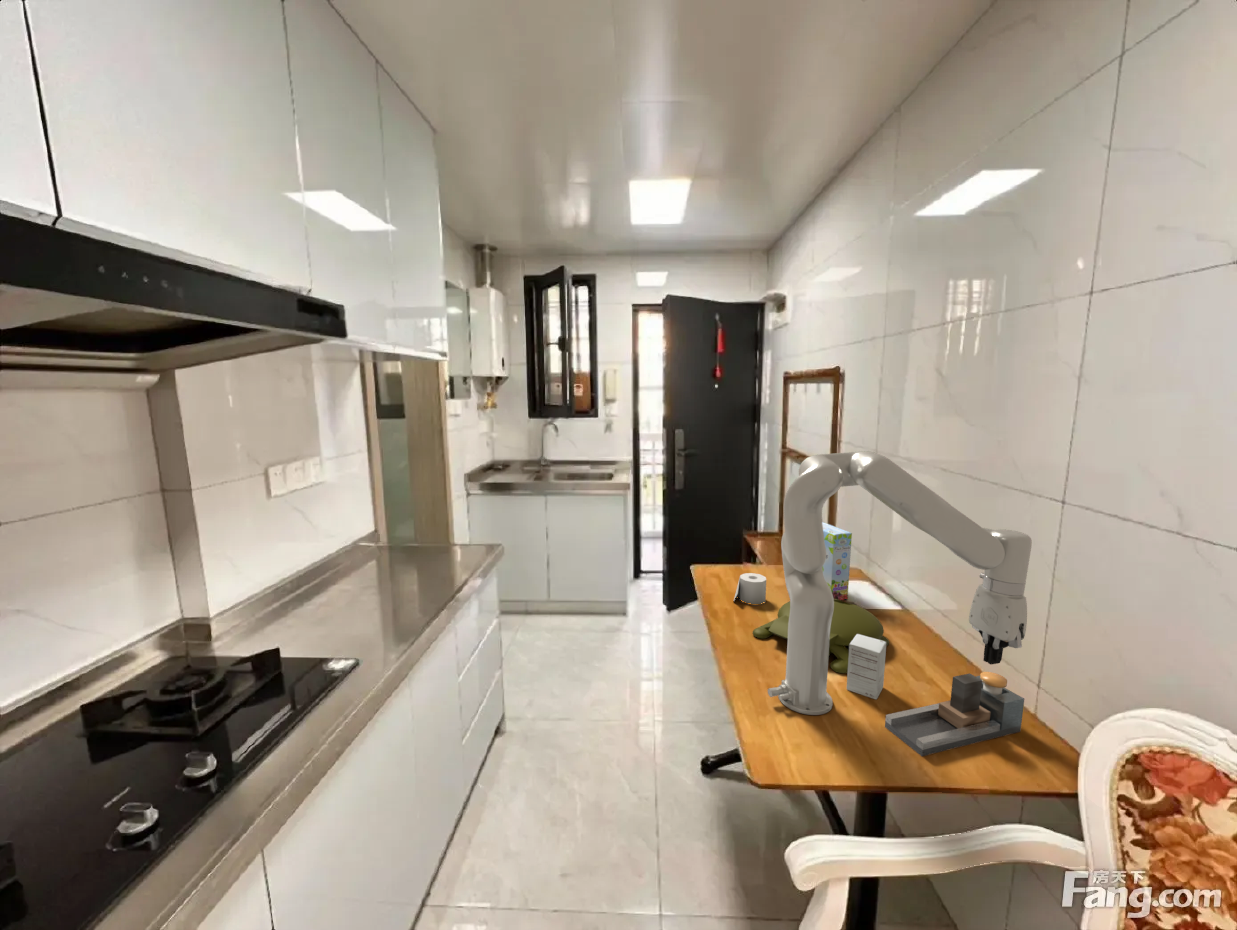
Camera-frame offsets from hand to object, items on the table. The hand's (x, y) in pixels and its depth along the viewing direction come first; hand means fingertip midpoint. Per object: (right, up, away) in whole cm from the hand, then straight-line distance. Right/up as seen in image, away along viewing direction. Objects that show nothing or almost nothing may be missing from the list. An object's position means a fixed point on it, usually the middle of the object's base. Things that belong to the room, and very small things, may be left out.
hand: (991, 662), depth 119 cm
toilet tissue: (-38, -5, +71) cm, 80 cm away
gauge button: (+1, -12, +1) cm, 12 cm away
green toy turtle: (-21, -9, +43) cm, 49 cm away
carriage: (-7, -13, -1) cm, 15 cm away
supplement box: (-22, -13, +15) cm, 29 cm away
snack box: (-8, -3, +80) cm, 80 cm away
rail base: (-10, -15, -1) cm, 18 cm away
